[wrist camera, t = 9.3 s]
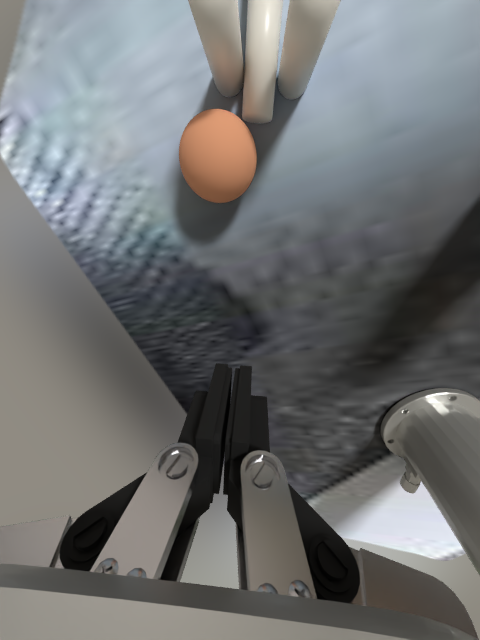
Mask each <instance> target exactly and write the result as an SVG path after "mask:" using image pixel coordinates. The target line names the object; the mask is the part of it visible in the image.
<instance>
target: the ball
mask: <svg viewBox="0 0 480 640" xmlns="http://www.w3.org/2000/svg"><path fill="white" fill-rule="evenodd" d="M179 161H180V166H181V170H182V173H183V175H184V178H185V180H186V181H187V183H188V185H189V186H190V187H191V189H192V190H193V191H194V192H195V193H196V194H197V195H199V196H200V197H202V198H203V199H205V200H207V201H210V202H215V203H226V202H229V201H232V200H234V199H236V198H238V197H239V196H241V195H242V194H243V193H244V192H245V191H246V190H247V188H248V187H249V185H250V184H251V182H252V179H253V177H254V174H255V170H256V164H257V153H256V146H255V142H254V139H253V137H252V134H251V132H250V131H249V129H248V127H247V126H246V125H245V123H244V122H243V121H242V120H241V119H240V118H239V117H237V116H236V115H235V114H233V113H231V112H229V111H226V110H222V109H209V110H205V111H203V112H201V113H199V114H197V115H196V116H195V117H194V118H193V119H192V120H191V121H190V122H189V123H188V125H187V126H186V128H185V130H184V132H183V134H182V137H181V141H180V146H179Z"/></svg>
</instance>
